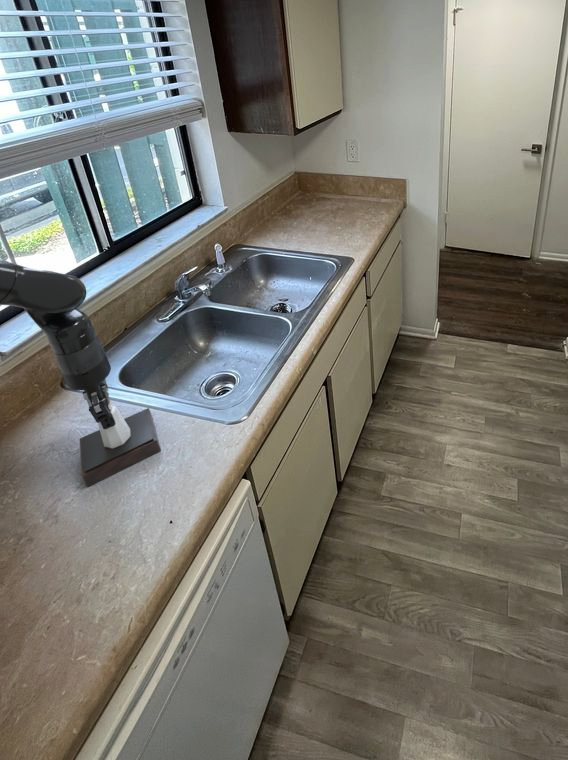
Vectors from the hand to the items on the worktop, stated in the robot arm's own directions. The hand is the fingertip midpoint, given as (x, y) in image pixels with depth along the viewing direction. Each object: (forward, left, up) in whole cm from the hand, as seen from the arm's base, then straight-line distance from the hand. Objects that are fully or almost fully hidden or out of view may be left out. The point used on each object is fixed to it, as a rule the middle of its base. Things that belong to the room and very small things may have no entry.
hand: (108, 419), depth 94 cm
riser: (0, 0, -10) cm, 10 cm away
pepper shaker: (0, 0, -6) cm, 6 cm away
